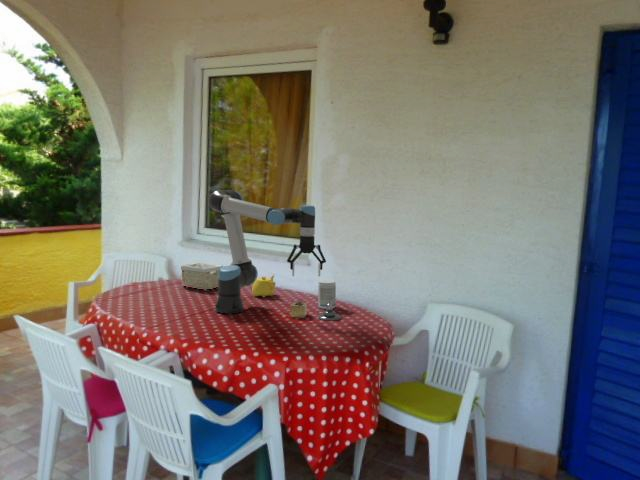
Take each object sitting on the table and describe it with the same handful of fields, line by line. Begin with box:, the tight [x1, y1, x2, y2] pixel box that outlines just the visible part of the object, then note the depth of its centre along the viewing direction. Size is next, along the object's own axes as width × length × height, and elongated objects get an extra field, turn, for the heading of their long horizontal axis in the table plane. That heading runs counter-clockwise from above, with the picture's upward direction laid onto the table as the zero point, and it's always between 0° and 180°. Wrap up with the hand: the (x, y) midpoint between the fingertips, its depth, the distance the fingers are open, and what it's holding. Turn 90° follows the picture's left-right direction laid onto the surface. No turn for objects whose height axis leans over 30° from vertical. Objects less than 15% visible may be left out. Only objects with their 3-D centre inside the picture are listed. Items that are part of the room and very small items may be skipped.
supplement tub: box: [317, 279, 337, 310], centre depth 272 cm, size 10×10×15 cm
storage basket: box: [180, 261, 224, 289], centre depth 316 cm, size 24×16×15 cm
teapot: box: [251, 274, 277, 298], centre depth 296 cm, size 14×14×12 cm
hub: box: [317, 304, 342, 322], centre depth 252 cm, size 12×12×7 cm
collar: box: [290, 301, 308, 319], centre depth 254 cm, size 7×7×6 cm
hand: (306, 275), depth 256 cm, fingers open, 13 cm apart
